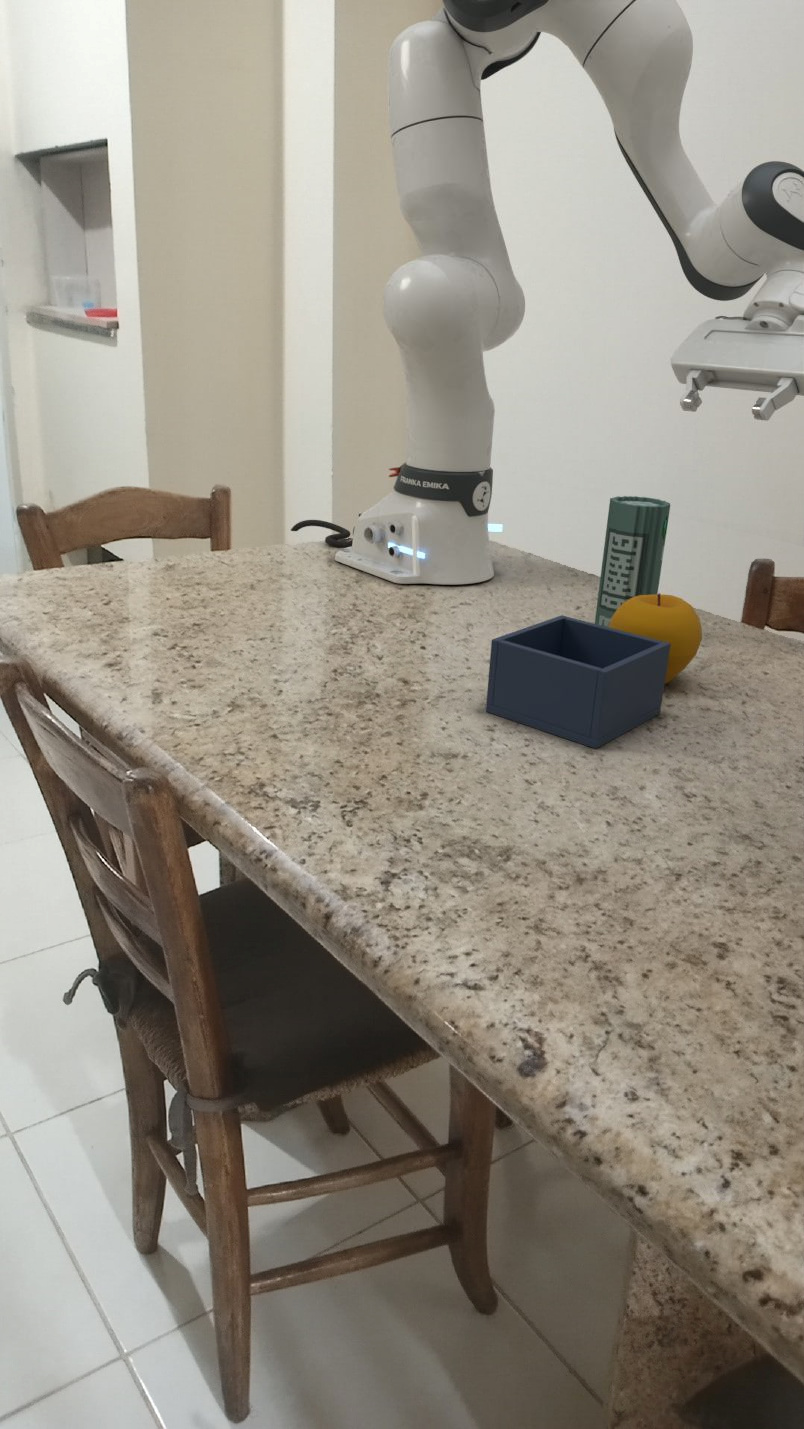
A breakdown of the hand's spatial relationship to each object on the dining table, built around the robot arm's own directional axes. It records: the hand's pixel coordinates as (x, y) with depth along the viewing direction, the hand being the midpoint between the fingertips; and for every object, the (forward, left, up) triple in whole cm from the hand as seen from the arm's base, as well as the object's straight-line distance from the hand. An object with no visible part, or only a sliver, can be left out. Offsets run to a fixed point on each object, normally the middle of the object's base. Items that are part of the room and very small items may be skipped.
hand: (721, 411), depth 114 cm
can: (-2, -12, -24) cm, 27 cm away
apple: (+7, -24, -24) cm, 35 cm away
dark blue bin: (+7, -37, -24) cm, 45 cm away
